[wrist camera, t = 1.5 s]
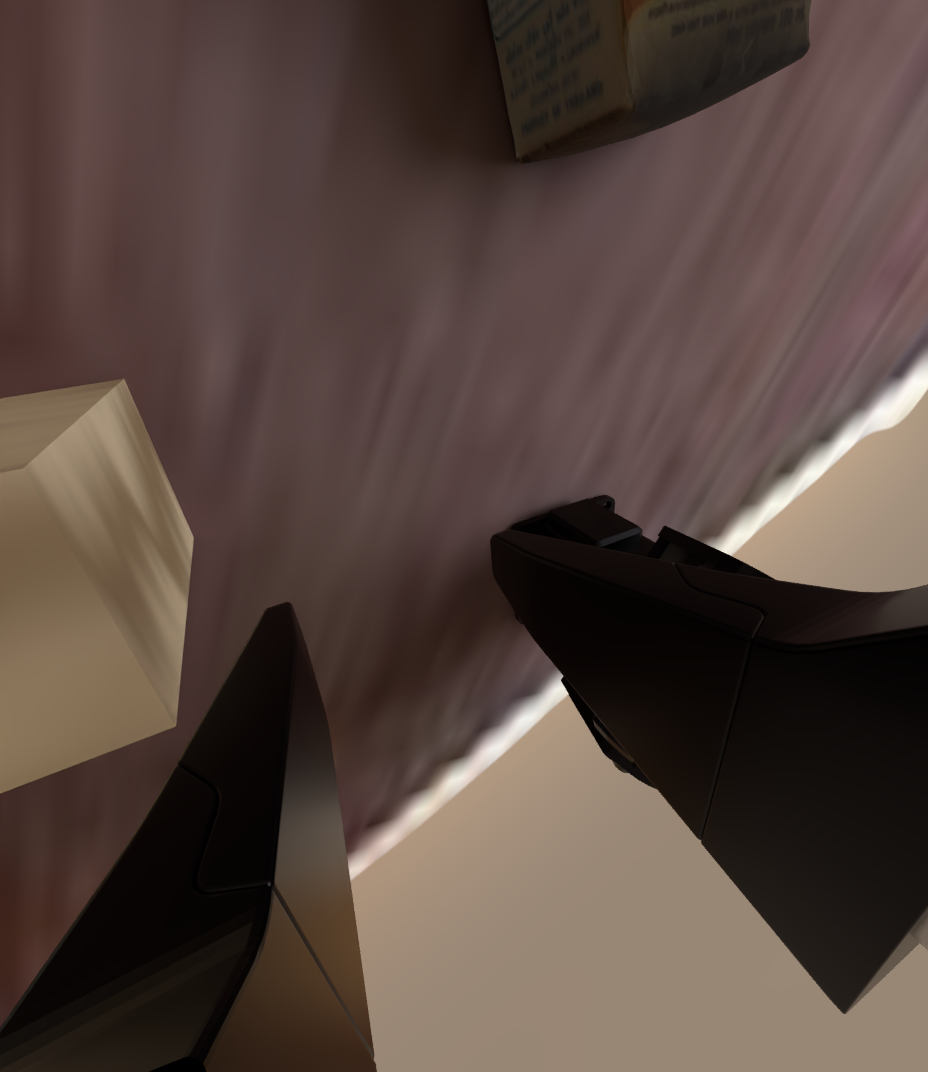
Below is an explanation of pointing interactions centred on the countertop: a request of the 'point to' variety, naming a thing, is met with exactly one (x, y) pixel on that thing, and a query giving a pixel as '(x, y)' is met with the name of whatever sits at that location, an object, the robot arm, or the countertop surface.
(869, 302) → the countertop surface
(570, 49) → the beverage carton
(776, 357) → the countertop surface
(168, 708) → the beige bevelled block
